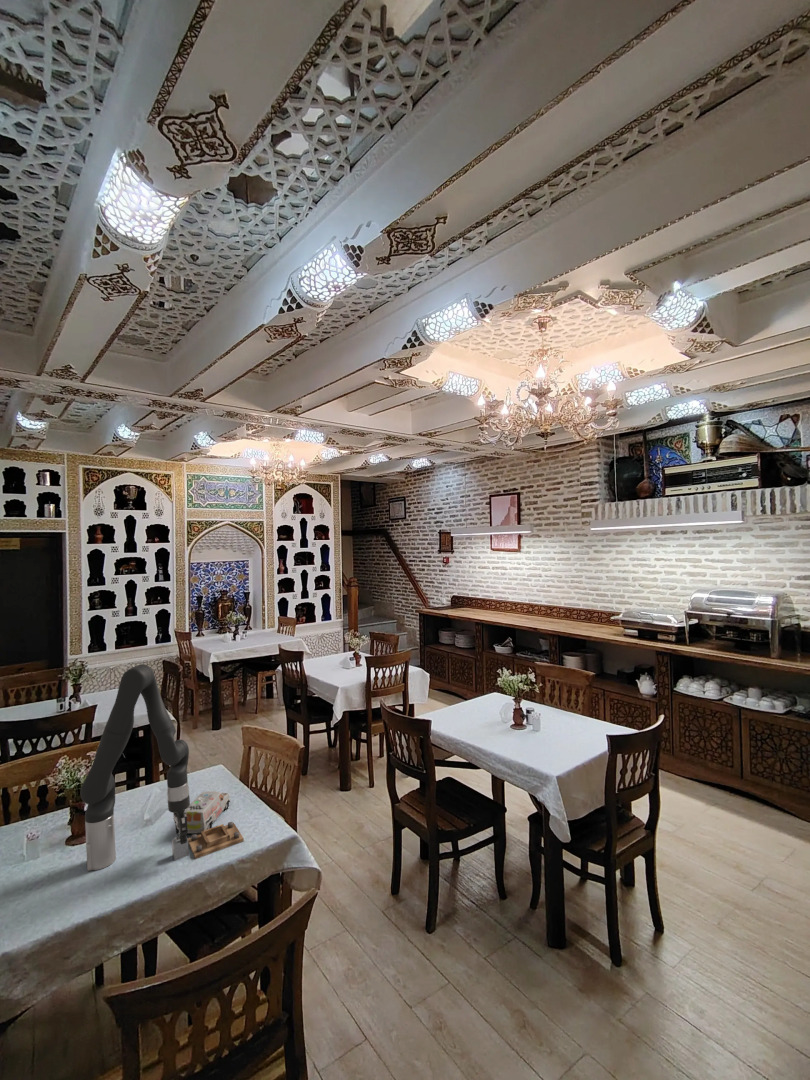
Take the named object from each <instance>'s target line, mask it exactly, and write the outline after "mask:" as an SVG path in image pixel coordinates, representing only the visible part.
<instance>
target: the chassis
mask: <svg viewBox="0 0 810 1080" xmlns="http://www.w3.org/2000/svg"><path fill="white" fill-rule="evenodd" d="M187 838H188V847H189V848H190V849H191V853H192V855H193V857H194V859H195V860H196V859H199V858H202V857H204V856H207V855H210V854H213V853H216V852H218V851H221V850H223V849H227V848H229V847H233V846H235V845H238V844H240V843H243V842H245V839H244V837H243V835H242V833H241V832H240V830H239V829H238V827H237V826H236V823H234V822H233V821H229V822H227V824H226V825H224V824H223V823H221V824H219V825H217V826H214V827H213V826H212V828H210V829H207V830H204V831H201V833H192V834H191V837H187Z"/></svg>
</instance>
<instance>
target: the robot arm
mask: <svg viewBox="0 0 810 1080" xmlns="http://www.w3.org/2000/svg"><path fill="white" fill-rule="evenodd" d="M140 695H141V696H142V698H143V701H144V705H145V707H146V708H145V709H146V714H147V721H148V723H149V725H150V728H151V730H152V733H153V735H154V736H155V738H156V741H157V746H158V751H159V755H160V758H161V760H162V762H163V763H164V764H166V765H167V766H170V767H169V769H168V770H167V773H166V782H167V788H166V789H167V791H166V796H167V809H168V811H169V812H170V813H173V814H172V815H173V822H174V824H175V834H176V835H179V836H180V843H181V844H184V843H186V842H187V838H188V836H187V834H189V833H188V828H187V817H186V812H185V810H186V809H187V808H188V807H189V805H190V804H191V803H190V802H191V800H190V787H189V782H188V763H189V757H190V749H189V745H188V743H187V742H186V741H185V740H183V739H176V740H175V735H176V733H177V729H176V727H175V724H174V723H173V721H172V719H171V717H170V715H169V713H168V711H167V708H166V706H165V703H164V701H163V698H162V696H161V692H160V689H159V686H158V683H157V679H156V676H155V673H154V671H153V668H152V667H151V666H149V665H148V664H143V663H142V664H137V665H134V666H132V667H131V668H128V669H127V670H125V672H124V673H123V674H122V676H121V679H120V682H119V686H118V690H117V694H116V698H115V701H114V704H113V707H112V708H111V711H110V714H109V717H108V719H107V722H106V725H105V727H104V729H103V732H102V734H101V736H100V737H101V738H100V740H99V744H98V746H97V749H96V752H95V755H94V759H93V763H92V764H91V767H90V769H89V771H88V773H87V775H86V778H85V780H84V781H83V783H82V785H81V788H80V791H79V793H80V798H81V800H82V802H84V804H86V805H87V808H86V809H85V813H84V823H85V826H84V827H85V850H86V851H85V852H86V867H87V872H90V871H97V870H102V869H104V868H107V867H108V866H110V865H112V864H113V863H114V862H115V861H116V859H117V852H116V830H115V828H116V827H115V813H114V812H115V811H114V809H115V804H116V780H115V777H114V775H113V770H114V768H115V766H116V764H117V762H118V761H119V759H120V757H121V756H122V753H123V752H124V750H125V748H126V746H127V744H128V742H129V739H130V737H131V735H132V731H133V729H134V723H135V708H136V705H137V702H138V700H139V697H140ZM182 828H185V830H182Z"/></svg>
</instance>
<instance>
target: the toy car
mask: <svg viewBox="0 0 810 1080" xmlns="http://www.w3.org/2000/svg"><path fill="white" fill-rule="evenodd" d="M230 797H231V795H230V793H229V792H228V793H227V792H221V791H215V790H213V791H212V790H211V791H209V790H208V791H203V792H201V793H200V794H199V795H198V796H196V798H195V799H194V800H193V801H192V802H191V803H190V805H189V807H188V808H187V809H185V812H186V817H187V828H188V833H187V834H201V831H204V830H207V829H210V828H213V823H214V822H215V821H216V819H218V817H219V816H220V815H221V814H222V813H223V811H225V810H226V811H228V809H229V808H228V807H229V806H230V803H231V799H230ZM182 830H185V828H182Z"/></svg>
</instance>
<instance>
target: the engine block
mask: <svg viewBox="0 0 810 1080" xmlns="http://www.w3.org/2000/svg"><path fill="white" fill-rule="evenodd" d="M188 838H189V837H187V842H186V843H184V844H181V843H180V835H177V836H175V837H174V838H172V839H171V848H172V852H171V853H172V858H173V861H177V860H180V859H184V858H186V857H188V856H190V854H189V853H190V852H189V848H190V847H189V843H188Z"/></svg>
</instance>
